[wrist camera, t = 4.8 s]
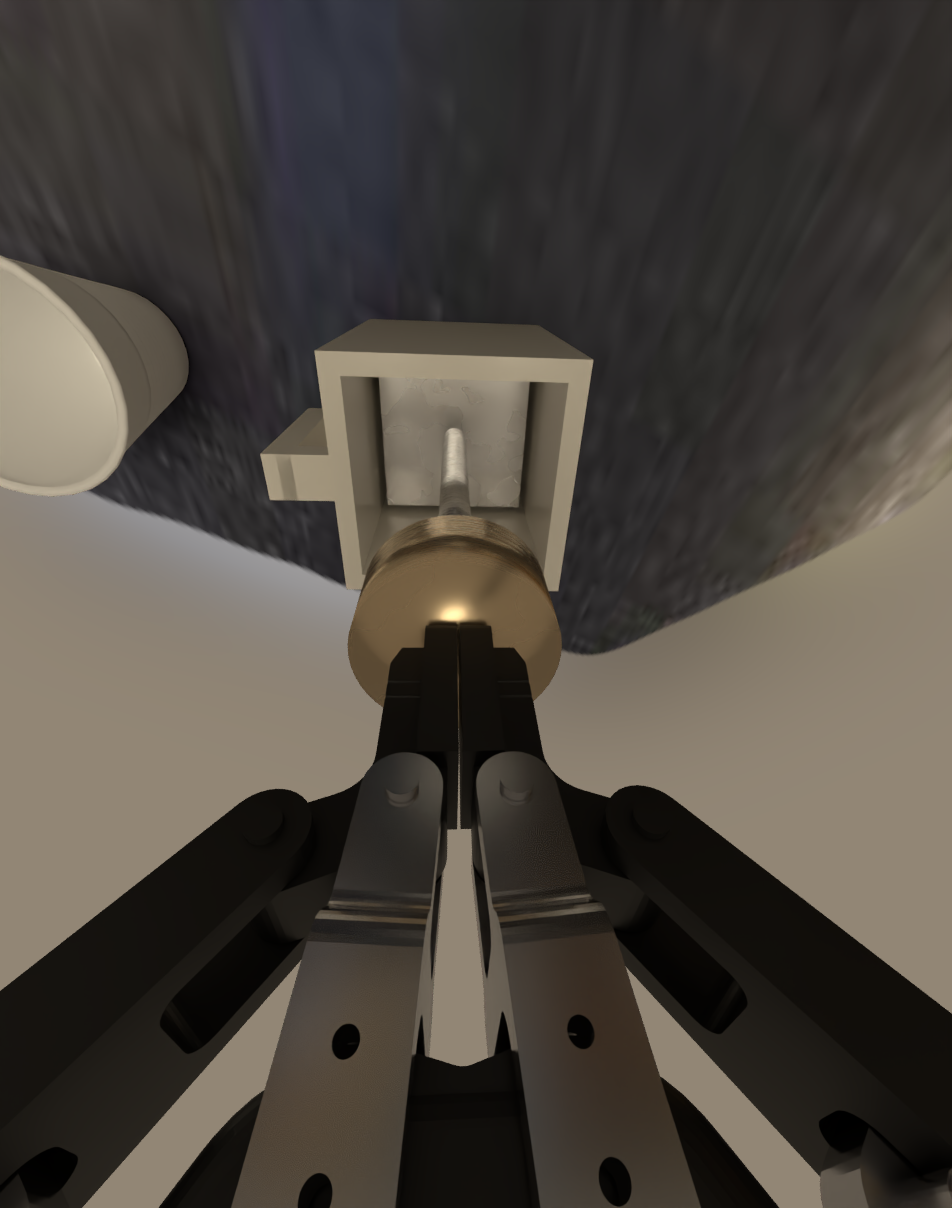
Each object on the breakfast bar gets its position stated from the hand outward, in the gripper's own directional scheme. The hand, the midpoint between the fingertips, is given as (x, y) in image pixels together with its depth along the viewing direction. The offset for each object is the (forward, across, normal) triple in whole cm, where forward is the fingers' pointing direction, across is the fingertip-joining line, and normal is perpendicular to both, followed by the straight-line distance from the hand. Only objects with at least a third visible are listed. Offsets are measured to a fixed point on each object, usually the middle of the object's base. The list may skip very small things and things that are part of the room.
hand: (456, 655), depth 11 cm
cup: (+25, +19, -3) cm, 32 cm away
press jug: (+25, +2, 0) cm, 25 cm away
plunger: (+19, 0, 0) cm, 19 cm away
